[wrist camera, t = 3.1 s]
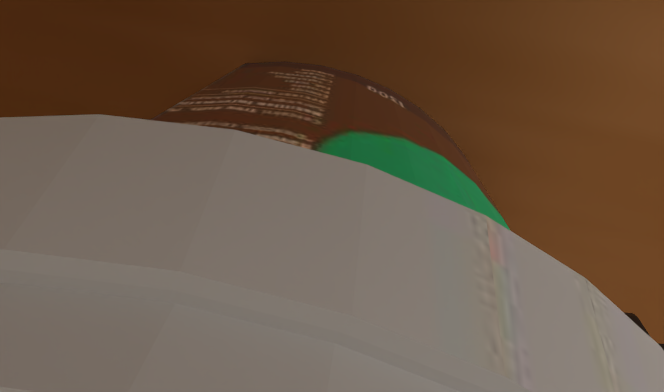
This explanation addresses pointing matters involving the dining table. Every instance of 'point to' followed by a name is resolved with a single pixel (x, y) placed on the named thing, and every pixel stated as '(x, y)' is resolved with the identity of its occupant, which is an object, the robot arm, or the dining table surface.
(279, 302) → the food container
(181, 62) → the dining table surface
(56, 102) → the dining table surface
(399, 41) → the dining table surface
